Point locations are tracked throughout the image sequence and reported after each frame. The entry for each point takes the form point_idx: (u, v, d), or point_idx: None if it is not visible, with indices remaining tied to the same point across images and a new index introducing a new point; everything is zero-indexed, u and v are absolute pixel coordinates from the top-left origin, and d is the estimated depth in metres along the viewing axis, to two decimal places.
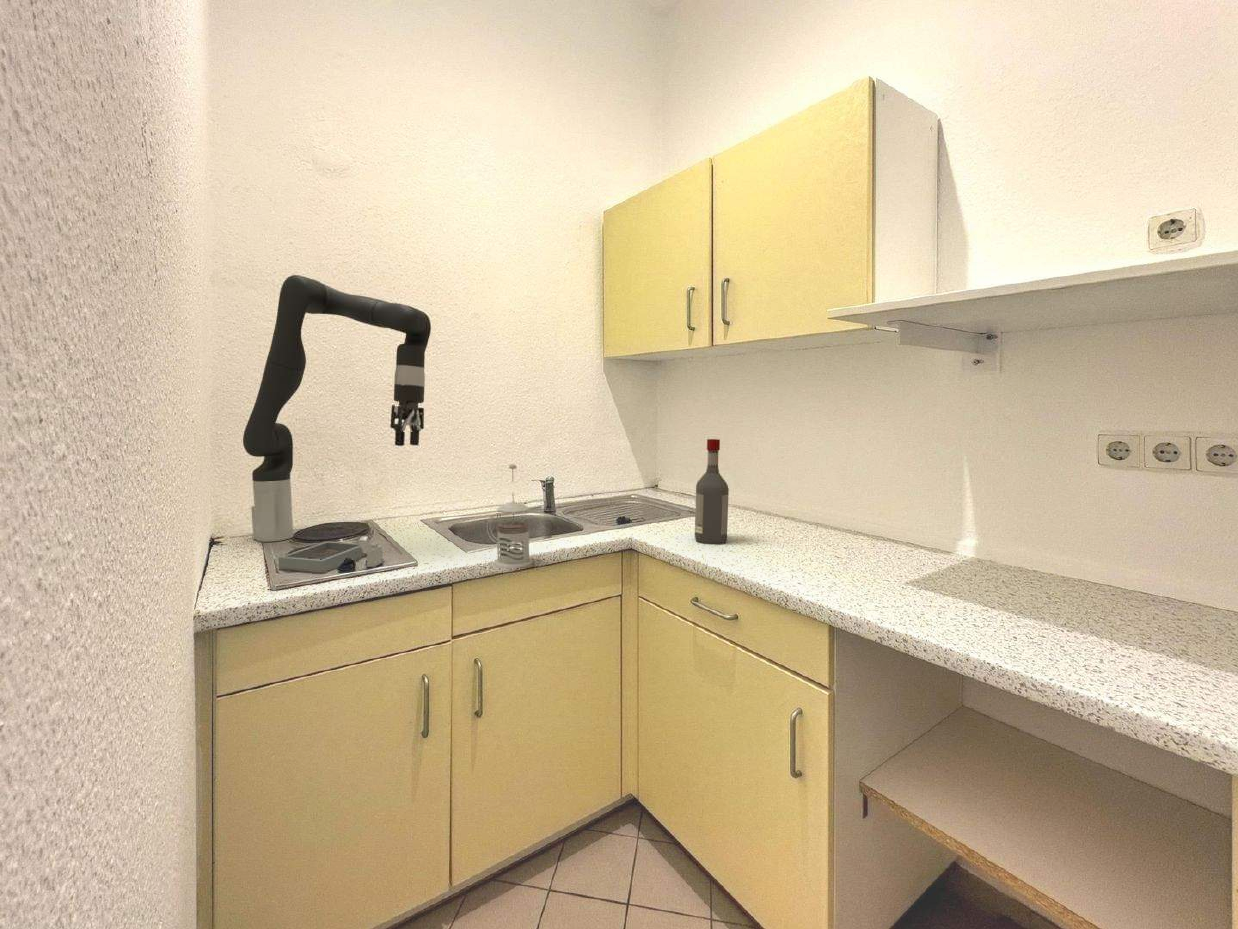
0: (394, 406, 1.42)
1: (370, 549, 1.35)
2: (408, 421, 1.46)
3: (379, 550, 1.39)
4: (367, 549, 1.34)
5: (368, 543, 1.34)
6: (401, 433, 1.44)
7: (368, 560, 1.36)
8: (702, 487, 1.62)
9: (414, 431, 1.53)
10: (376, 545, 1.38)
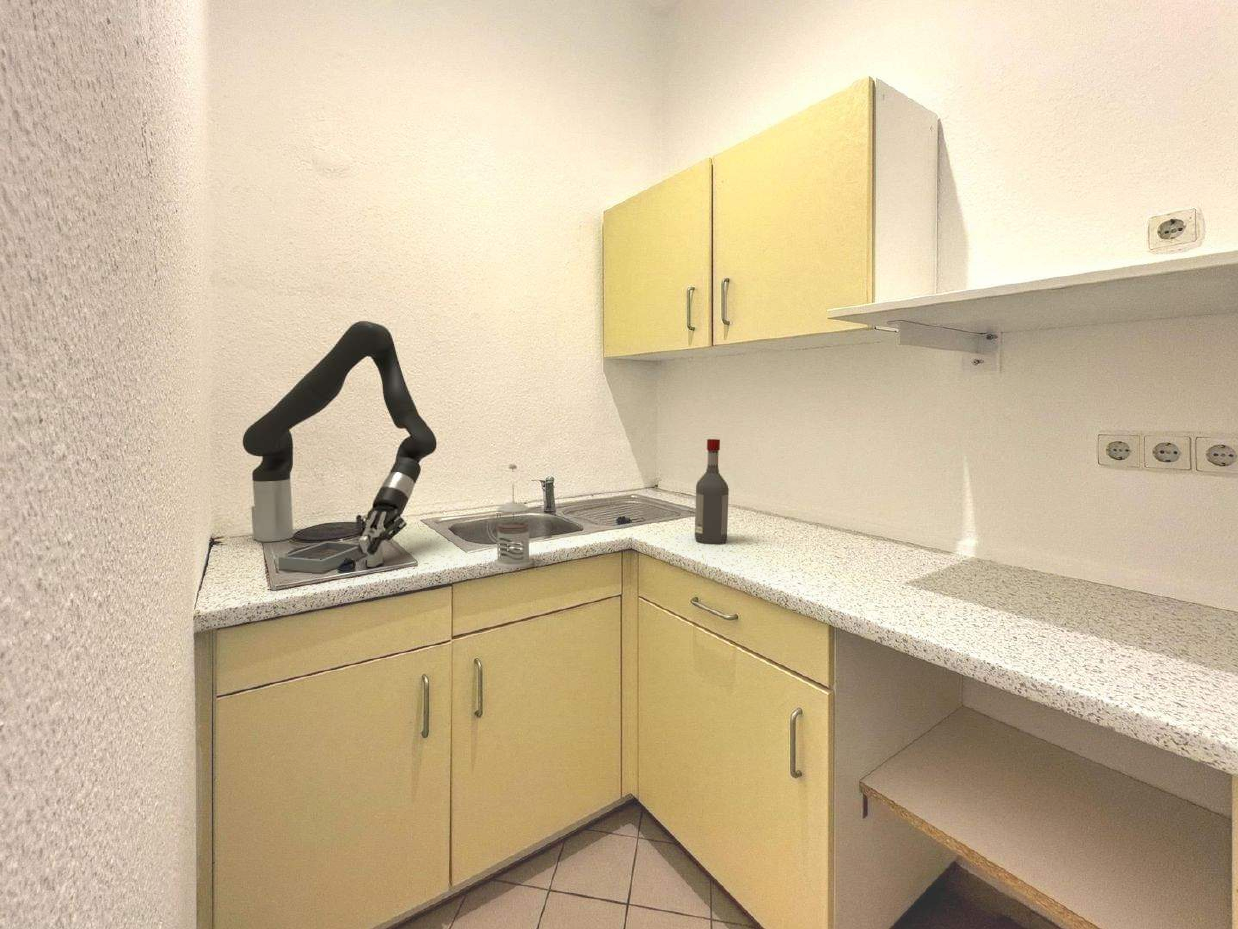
0: (402, 521, 1.38)
1: None
2: None
3: (380, 550, 1.39)
4: None
5: (368, 543, 1.34)
6: None
7: (368, 560, 1.36)
8: (702, 487, 1.62)
9: None
10: None
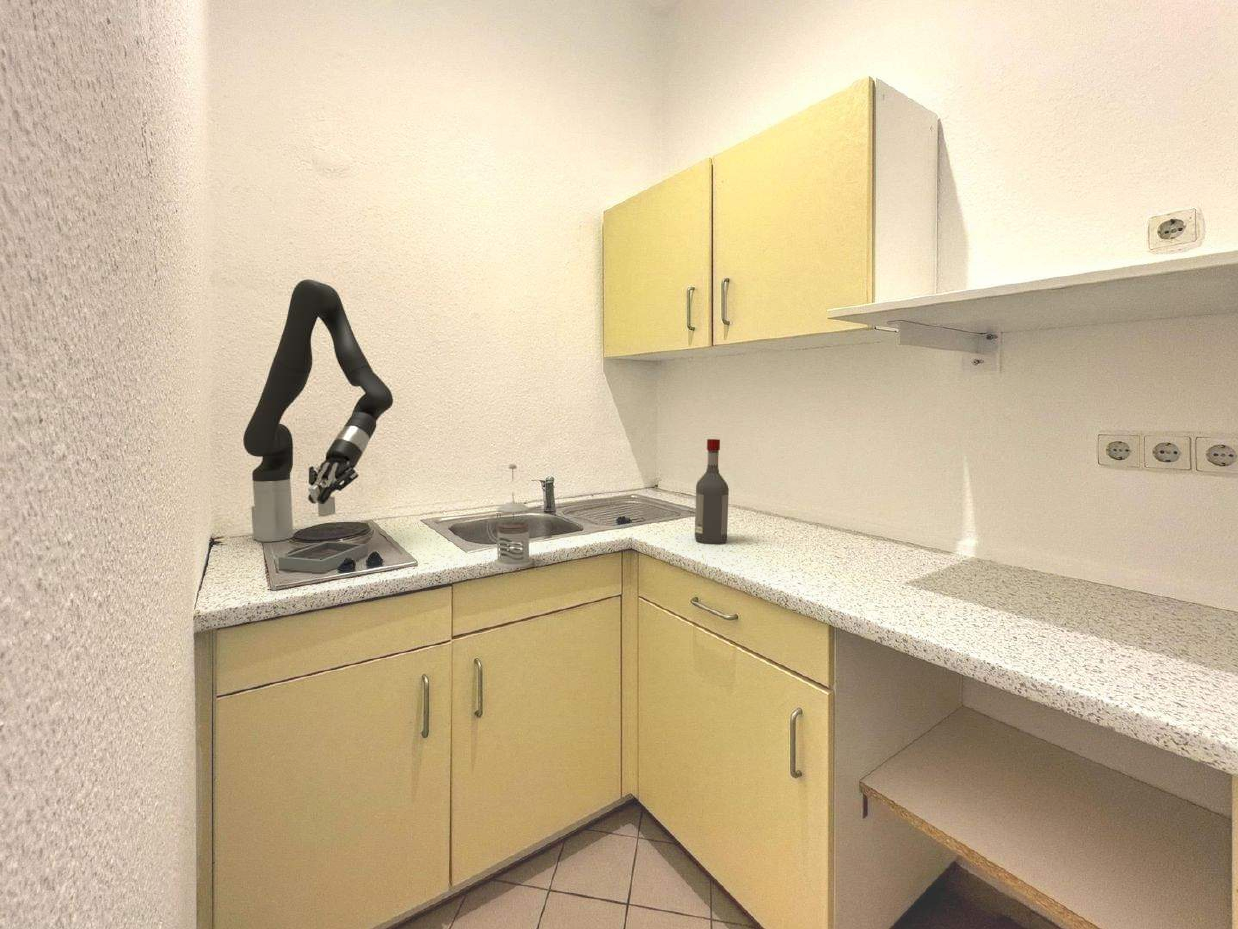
0: (354, 472, 1.40)
1: None
2: None
3: (332, 501, 1.40)
4: None
5: (318, 492, 1.36)
6: None
7: (319, 510, 1.38)
8: (702, 487, 1.62)
9: (319, 489, 1.39)
10: None
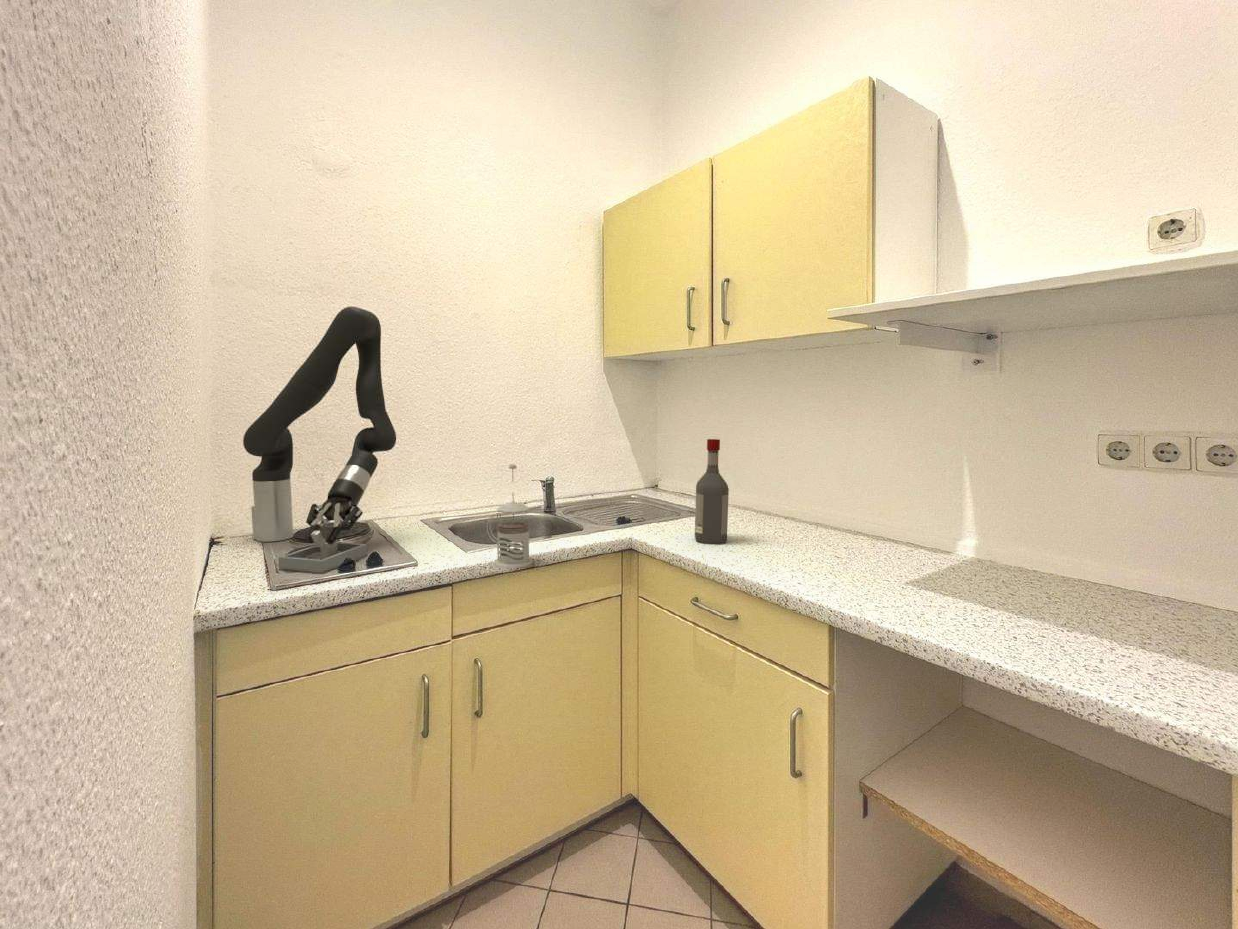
0: (359, 509, 1.41)
1: (323, 543, 1.38)
2: None
3: (334, 545, 1.42)
4: (319, 543, 1.37)
5: (320, 537, 1.37)
6: None
7: (322, 554, 1.39)
8: (702, 487, 1.62)
9: (316, 528, 1.40)
10: None
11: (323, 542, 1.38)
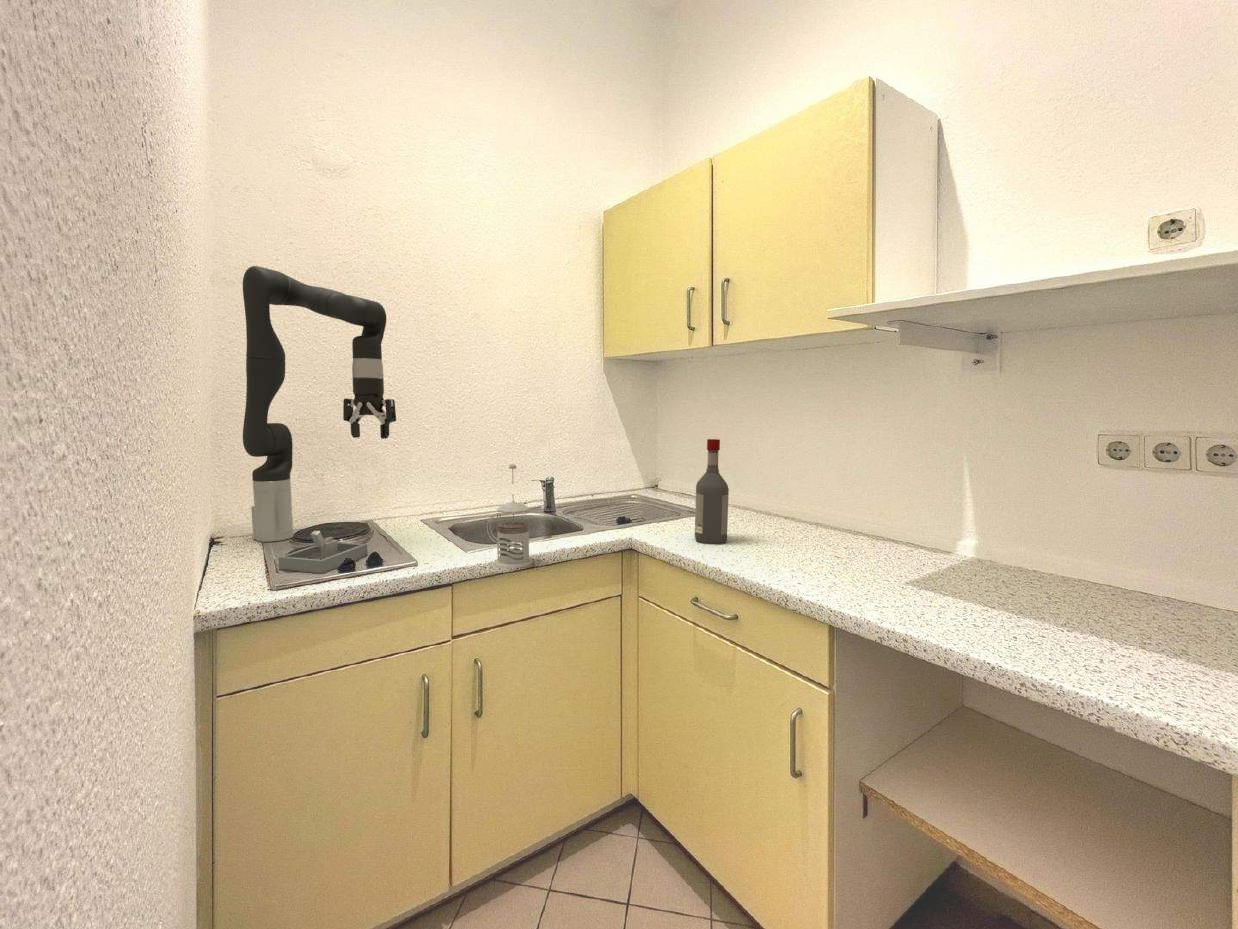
0: (390, 400, 1.47)
1: (323, 543, 1.38)
2: None
3: (334, 545, 1.42)
4: (319, 543, 1.37)
5: (320, 537, 1.37)
6: None
7: (322, 554, 1.39)
8: (702, 487, 1.62)
9: (356, 423, 1.51)
10: (330, 539, 1.41)
11: (323, 542, 1.38)
